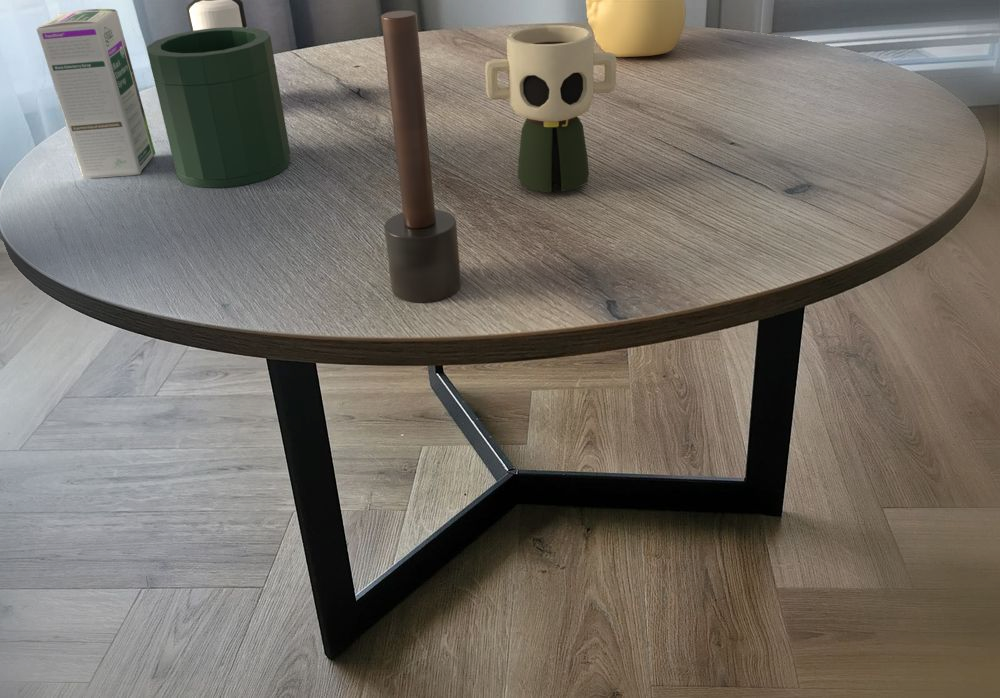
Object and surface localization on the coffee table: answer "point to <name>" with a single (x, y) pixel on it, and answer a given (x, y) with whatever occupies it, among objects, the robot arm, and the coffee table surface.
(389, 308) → the coffee table surface
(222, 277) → the coffee table surface
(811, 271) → the coffee table surface
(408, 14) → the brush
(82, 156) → the syrup box
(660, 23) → the sculpture
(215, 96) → the jar
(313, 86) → the coffee table surface
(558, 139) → the character mug
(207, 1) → the medicine bottle
